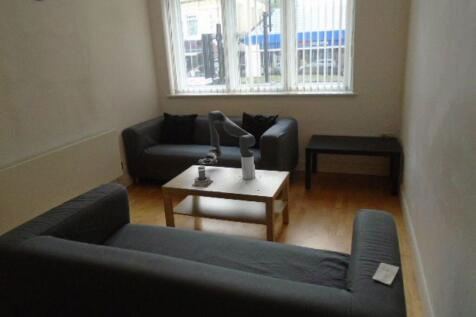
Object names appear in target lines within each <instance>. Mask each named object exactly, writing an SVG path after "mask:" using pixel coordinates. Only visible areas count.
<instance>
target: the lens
mask: <svg viewBox="0 0 476 317" xmlns="http://www.w3.org/2000/svg"><path fill="white" fill-rule="evenodd" d="M197 170H198V171H197V172H198V177H199V180H206V177H207V176H206V167H205V166H203V165H199V166H198V167H197Z"/></svg>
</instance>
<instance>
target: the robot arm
mask: <svg viewBox="0 0 476 317" xmlns="http://www.w3.org/2000/svg"><path fill="white" fill-rule="evenodd" d="M207 120H208V128H209V131H210V132H209V133H210V146H211V147H213V148H210V149H209V151H208V153H207V155H206V156H205V157H204V158H203V159H202V158H200V159H199V160H198V161H197V164H198V165H199V166H202V165H205V164H207V165H209V166H212V165H216V164H217V163H218V159H217V158H220V157H221V156H222V149H221V145H220V135H219V132H217V129H216V127H215V123H221V124H222V125H223V130H224V131H225V133H227V134H228V135H230V136H232V137H236V138H239V141H238V142H239V152H240V156H241V158H240V159H241V173H242V174H241V175H242V179H244V180H253V179H254V178H256V165H255V163H254V158H255V157H254V151H252V150H249V148H251V147H254V146H255V144H256V138H255V136H254V135H253V134H251V133H249V132H247V131H246V130H245V129H242V128H241V127H240V126H239V125H238V124H236V123H234V121H232V120H231V119H230V118H228V117H227V115H225V114H224V113H222V111H220V110H213V111H209V112H208V114H207Z"/></svg>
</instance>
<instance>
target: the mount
mask: <svg viewBox="0 0 476 317" xmlns="http://www.w3.org/2000/svg"><path fill="white" fill-rule="evenodd" d="M212 183H214V180H211V178H210V177H209V176H206V180H199V176H197V177H195V178H194V182H193V183H192V184H191V187H199V188H207V187H209V186H210V185H211V184H212Z"/></svg>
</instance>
